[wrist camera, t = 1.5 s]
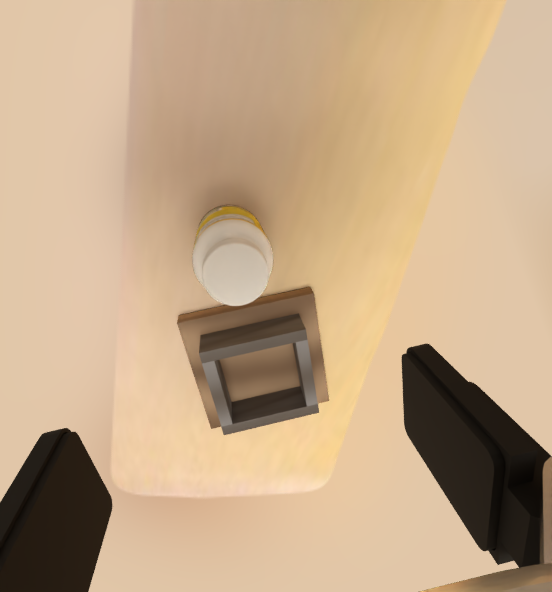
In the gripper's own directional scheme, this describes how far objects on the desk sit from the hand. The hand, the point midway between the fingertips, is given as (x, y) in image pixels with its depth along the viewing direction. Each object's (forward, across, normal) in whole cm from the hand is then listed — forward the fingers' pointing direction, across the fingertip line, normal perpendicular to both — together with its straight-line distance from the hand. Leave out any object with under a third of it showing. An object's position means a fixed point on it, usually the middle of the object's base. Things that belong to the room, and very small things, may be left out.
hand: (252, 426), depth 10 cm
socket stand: (+22, 0, +12) cm, 25 cm away
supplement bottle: (+22, 0, 0) cm, 22 cm away
